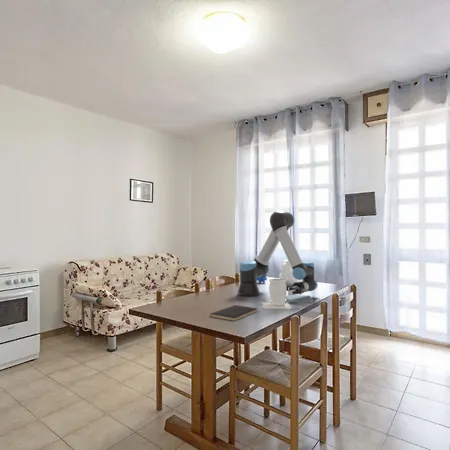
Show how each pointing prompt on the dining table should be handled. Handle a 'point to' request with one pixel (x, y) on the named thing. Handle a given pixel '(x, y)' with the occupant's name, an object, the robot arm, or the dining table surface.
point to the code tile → (268, 306)
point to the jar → (277, 291)
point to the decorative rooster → (287, 273)
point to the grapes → (261, 279)
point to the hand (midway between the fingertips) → (279, 291)
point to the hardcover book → (234, 312)
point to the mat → (299, 298)
